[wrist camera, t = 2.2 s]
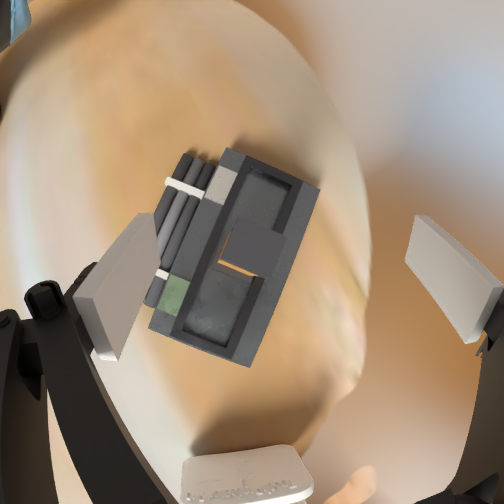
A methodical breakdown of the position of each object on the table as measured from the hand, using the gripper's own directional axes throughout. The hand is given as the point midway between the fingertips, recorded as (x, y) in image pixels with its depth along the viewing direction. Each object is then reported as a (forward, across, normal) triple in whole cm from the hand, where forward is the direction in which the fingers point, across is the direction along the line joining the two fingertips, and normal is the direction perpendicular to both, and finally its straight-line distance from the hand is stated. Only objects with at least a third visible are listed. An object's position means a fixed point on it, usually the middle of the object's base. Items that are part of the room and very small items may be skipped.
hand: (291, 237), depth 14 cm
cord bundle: (+18, -12, -8) cm, 23 cm away
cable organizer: (+2, -3, -37) cm, 37 cm away
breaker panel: (+18, -4, -11) cm, 21 cm away
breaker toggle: (+15, -3, -9) cm, 18 cm away
